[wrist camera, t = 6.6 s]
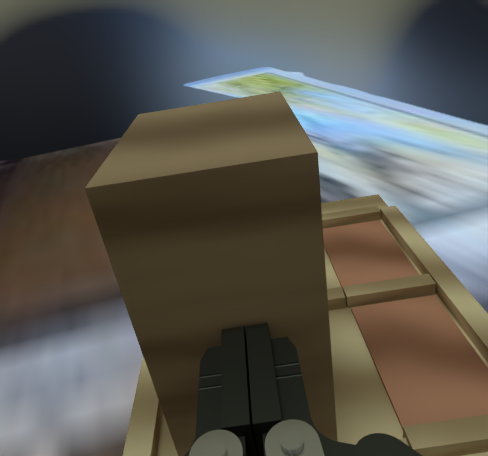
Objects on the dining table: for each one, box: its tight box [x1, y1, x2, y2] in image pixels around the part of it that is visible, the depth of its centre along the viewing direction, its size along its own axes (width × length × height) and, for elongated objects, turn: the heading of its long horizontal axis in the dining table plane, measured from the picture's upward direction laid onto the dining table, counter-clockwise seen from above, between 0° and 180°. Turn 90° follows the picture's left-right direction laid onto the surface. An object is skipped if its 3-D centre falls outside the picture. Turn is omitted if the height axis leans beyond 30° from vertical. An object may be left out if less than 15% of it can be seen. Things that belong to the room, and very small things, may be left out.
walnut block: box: [85, 92, 338, 456], centre depth 18 cm, size 8×6×13 cm
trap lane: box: [123, 195, 488, 456], centre depth 25 cm, size 27×18×5 cm, turn 3°
